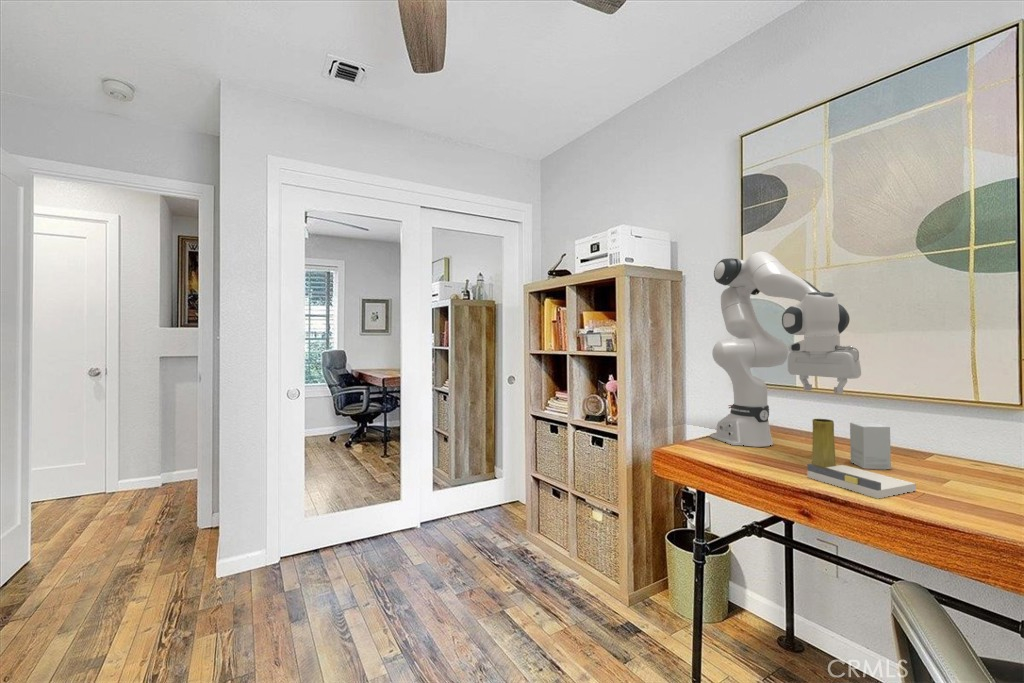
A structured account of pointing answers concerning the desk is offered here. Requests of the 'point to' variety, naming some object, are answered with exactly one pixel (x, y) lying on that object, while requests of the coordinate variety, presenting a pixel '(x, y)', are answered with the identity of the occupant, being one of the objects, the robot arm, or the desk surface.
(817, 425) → the vase
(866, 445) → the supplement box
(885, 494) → the shelf board
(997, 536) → the desk surface
